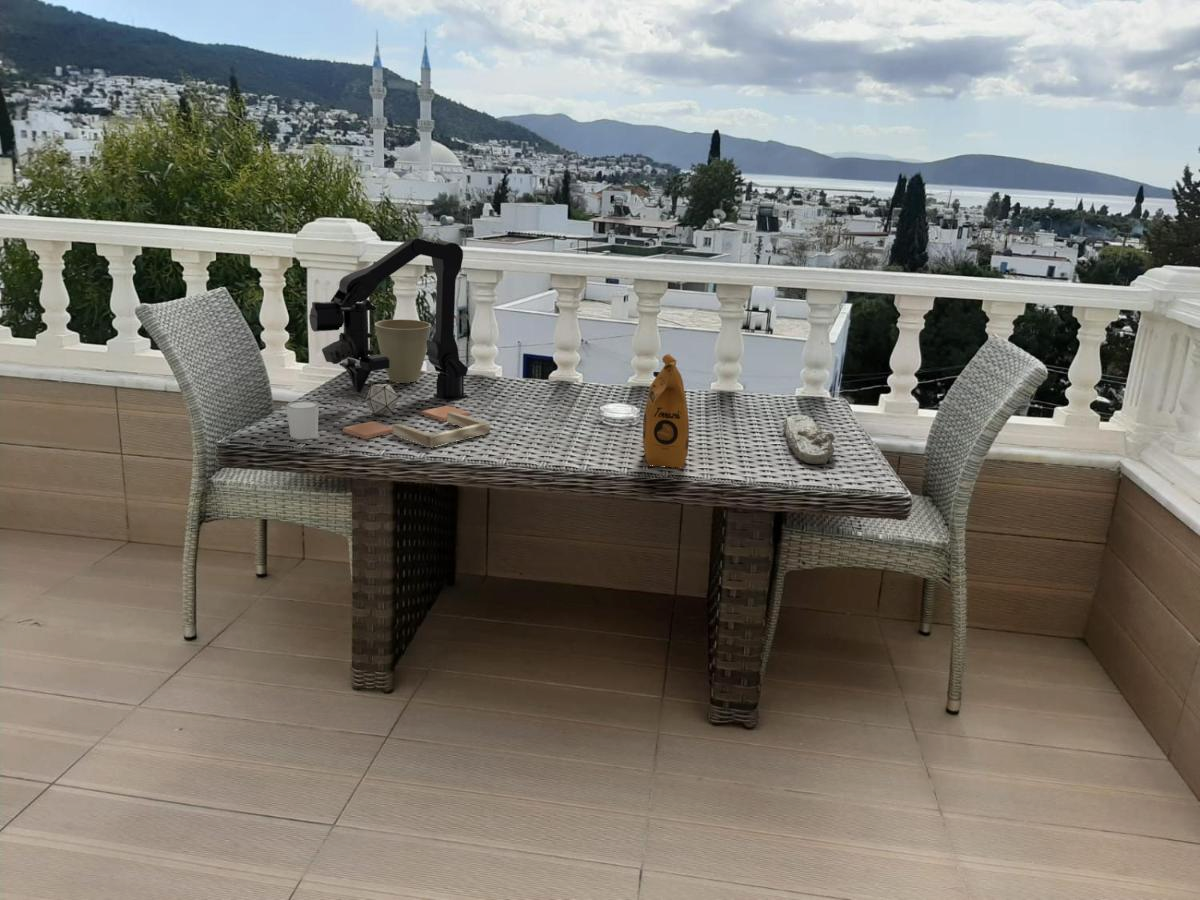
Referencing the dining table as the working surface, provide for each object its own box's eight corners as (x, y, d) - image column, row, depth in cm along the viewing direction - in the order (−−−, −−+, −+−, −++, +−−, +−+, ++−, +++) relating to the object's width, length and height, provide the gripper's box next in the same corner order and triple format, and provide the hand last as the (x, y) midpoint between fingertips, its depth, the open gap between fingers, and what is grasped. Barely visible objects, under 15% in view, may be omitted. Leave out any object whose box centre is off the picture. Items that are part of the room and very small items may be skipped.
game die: (388, 431, 215) (394, 405, 207) (354, 417, 214) (360, 391, 207) (402, 406, 221) (409, 380, 213) (369, 392, 220) (375, 365, 213)
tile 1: (373, 425, 206) (373, 421, 206) (394, 432, 201) (394, 428, 201) (343, 431, 200) (343, 427, 200) (365, 439, 195) (364, 435, 195)
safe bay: (452, 422, 212) (452, 411, 211) (489, 433, 204) (490, 423, 203) (393, 435, 199) (393, 424, 199) (431, 448, 191) (431, 437, 191)
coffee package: (639, 467, 186) (645, 363, 179) (641, 450, 198) (648, 351, 191) (687, 471, 185) (695, 366, 178) (687, 453, 197) (694, 354, 190)
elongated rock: (816, 431, 225) (776, 430, 226) (817, 410, 224) (777, 410, 225) (841, 467, 191) (794, 466, 192) (842, 443, 190) (795, 442, 191)
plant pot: (367, 384, 243) (365, 326, 239) (389, 373, 257) (387, 317, 253) (420, 389, 241) (419, 330, 236) (438, 377, 255) (438, 321, 250)
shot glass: (327, 433, 198) (325, 403, 196) (307, 441, 192) (305, 410, 190) (300, 429, 200) (299, 399, 198) (280, 437, 194) (278, 406, 192)
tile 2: (446, 409, 222) (446, 405, 222) (468, 416, 217) (468, 412, 217) (421, 414, 216) (421, 411, 216) (443, 421, 212) (443, 417, 211)
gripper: (304, 326, 215) (307, 390, 219) (350, 338, 203) (352, 405, 208) (344, 322, 223) (346, 383, 228) (390, 333, 212) (392, 397, 216)
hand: (358, 392), depth 220 cm, fingers closed
